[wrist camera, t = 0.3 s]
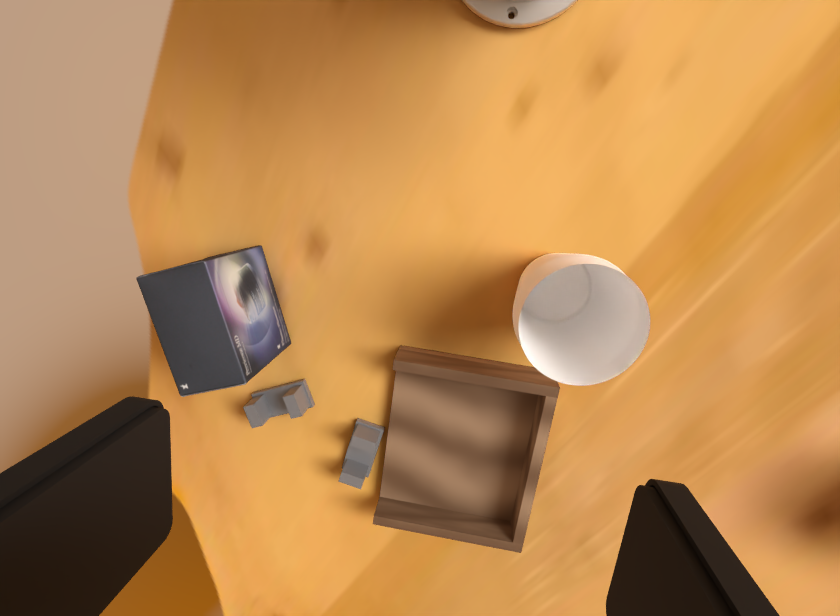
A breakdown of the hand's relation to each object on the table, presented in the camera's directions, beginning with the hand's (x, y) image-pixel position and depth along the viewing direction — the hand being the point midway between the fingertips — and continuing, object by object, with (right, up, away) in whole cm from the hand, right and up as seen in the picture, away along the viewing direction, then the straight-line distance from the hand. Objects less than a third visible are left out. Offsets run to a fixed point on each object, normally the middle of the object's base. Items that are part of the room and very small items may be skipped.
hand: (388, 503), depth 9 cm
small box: (-16, +5, +38) cm, 42 cm away
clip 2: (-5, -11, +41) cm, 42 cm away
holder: (+5, -10, +39) cm, 41 cm away
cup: (+13, +6, +34) cm, 37 cm away
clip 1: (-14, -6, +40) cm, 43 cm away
